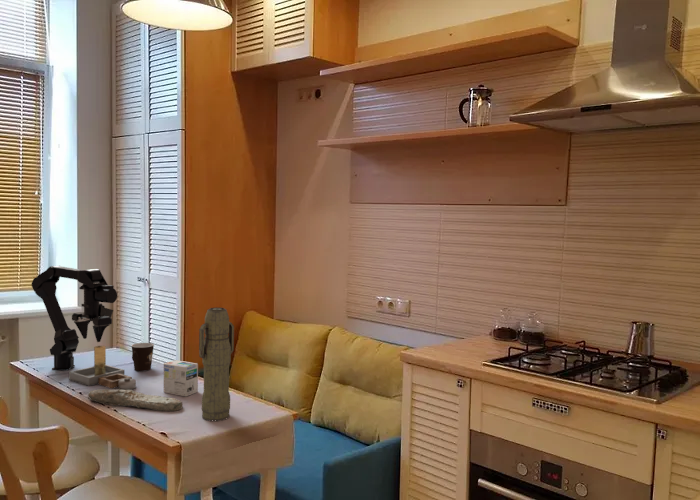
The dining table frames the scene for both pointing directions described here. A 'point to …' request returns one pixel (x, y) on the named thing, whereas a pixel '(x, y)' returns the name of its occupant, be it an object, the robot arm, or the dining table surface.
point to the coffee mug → (142, 356)
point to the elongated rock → (135, 399)
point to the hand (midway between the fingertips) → (91, 340)
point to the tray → (92, 375)
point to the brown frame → (118, 381)
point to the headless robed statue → (216, 363)
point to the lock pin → (99, 360)
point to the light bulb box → (180, 378)
